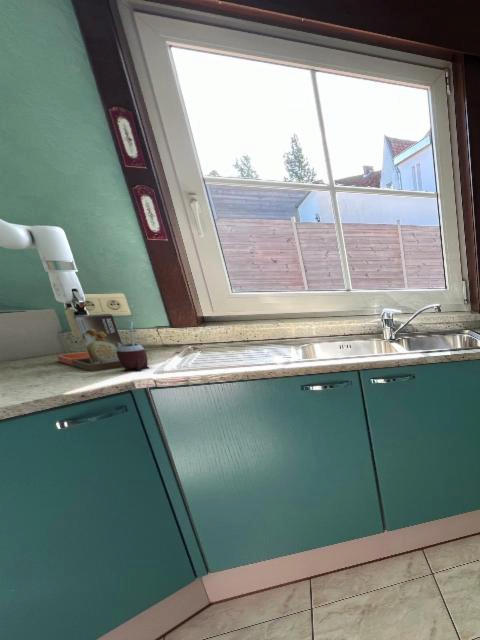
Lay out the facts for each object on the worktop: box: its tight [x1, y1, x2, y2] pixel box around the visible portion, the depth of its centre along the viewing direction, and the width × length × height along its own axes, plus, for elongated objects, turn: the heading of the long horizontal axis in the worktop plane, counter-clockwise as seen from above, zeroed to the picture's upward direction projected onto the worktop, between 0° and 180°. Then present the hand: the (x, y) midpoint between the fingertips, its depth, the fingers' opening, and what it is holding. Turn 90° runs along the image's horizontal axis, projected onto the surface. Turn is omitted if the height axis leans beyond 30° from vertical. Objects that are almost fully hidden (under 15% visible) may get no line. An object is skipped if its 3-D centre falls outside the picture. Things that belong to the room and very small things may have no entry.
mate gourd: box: [116, 320, 150, 372], centre depth 159 cm, size 8×8×15 cm
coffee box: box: [74, 313, 124, 364], centre depth 163 cm, size 9×6×16 cm
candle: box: [64, 307, 90, 339], centre depth 168 cm, size 6×6×10 cm
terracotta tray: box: [56, 351, 89, 366], centre depth 172 cm, size 14×11×2 cm
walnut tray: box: [73, 358, 124, 372], centre depth 166 cm, size 14×13×2 cm
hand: (80, 322), depth 168 cm, fingers closed on candle, 5 cm apart
